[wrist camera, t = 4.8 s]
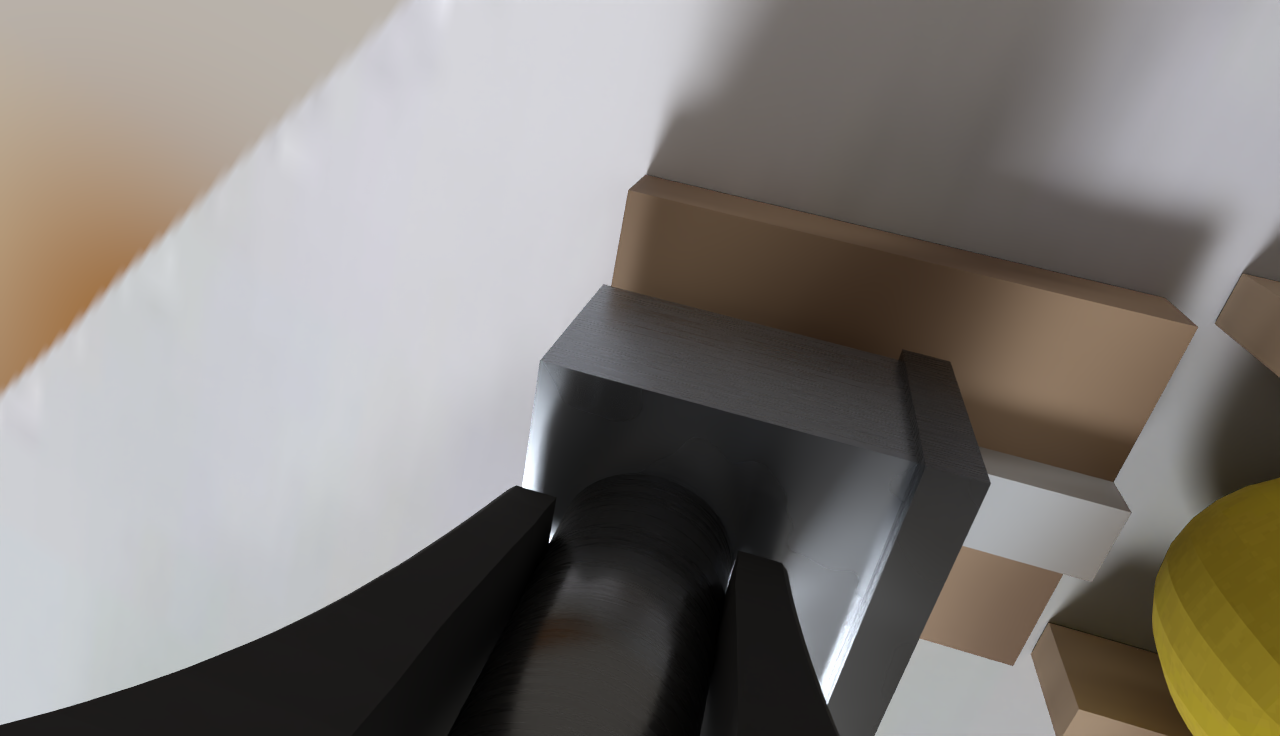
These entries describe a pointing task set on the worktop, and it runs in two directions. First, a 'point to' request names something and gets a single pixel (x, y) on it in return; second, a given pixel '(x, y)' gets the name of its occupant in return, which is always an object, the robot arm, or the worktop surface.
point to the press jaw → (723, 516)
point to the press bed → (981, 360)
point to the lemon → (1224, 615)
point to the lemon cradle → (1114, 672)
